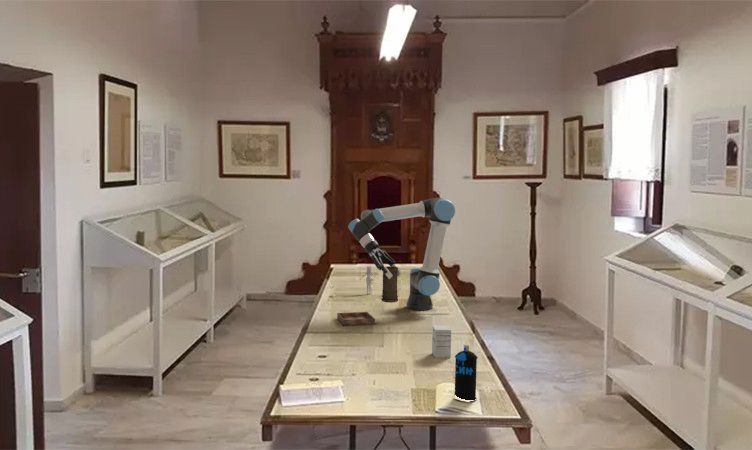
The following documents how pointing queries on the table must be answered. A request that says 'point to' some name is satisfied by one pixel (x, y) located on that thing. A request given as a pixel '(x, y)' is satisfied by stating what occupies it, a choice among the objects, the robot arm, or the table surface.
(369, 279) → the human figurine
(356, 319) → the walnut tray
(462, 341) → the table surface
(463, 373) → the aerosol can
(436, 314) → the table surface
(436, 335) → the supplement box
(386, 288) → the container
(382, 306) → the table surface
